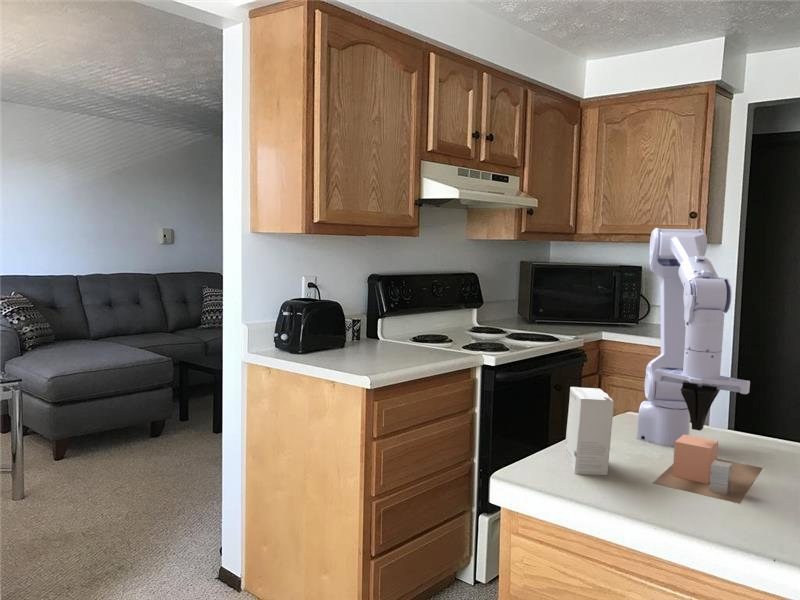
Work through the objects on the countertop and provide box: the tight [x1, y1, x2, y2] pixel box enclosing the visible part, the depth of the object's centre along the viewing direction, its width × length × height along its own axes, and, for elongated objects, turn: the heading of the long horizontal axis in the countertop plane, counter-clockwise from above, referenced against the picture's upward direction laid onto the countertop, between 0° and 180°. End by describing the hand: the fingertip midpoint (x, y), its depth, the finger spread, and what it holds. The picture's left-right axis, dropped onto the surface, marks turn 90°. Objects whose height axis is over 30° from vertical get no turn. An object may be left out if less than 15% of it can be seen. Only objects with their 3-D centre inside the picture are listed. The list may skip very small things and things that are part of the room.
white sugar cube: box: [709, 460, 732, 495], centre depth 107 cm, size 3×3×4 cm
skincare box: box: [563, 386, 615, 476], centre depth 117 cm, size 8×6×15 cm
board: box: [652, 458, 763, 504], centre depth 115 cm, size 13×21×2 cm, turn 143°
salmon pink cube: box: [672, 434, 719, 484], centre depth 114 cm, size 6×6×6 cm
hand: (697, 428), depth 113 cm, fingers closed
